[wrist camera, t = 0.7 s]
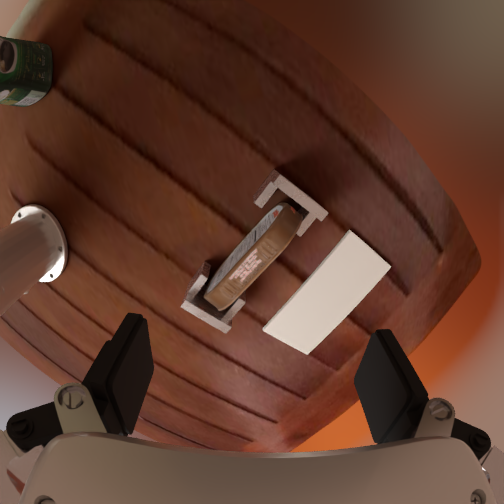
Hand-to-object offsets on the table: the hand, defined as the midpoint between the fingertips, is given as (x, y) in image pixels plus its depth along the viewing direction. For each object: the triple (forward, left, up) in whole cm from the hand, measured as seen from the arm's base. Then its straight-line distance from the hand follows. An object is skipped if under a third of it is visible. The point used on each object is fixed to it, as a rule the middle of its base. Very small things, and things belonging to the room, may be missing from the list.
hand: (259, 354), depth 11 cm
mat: (-4, -17, -26) cm, 32 cm away
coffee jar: (-1, +38, -27) cm, 46 cm away
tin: (-4, -3, -27) cm, 27 cm away
